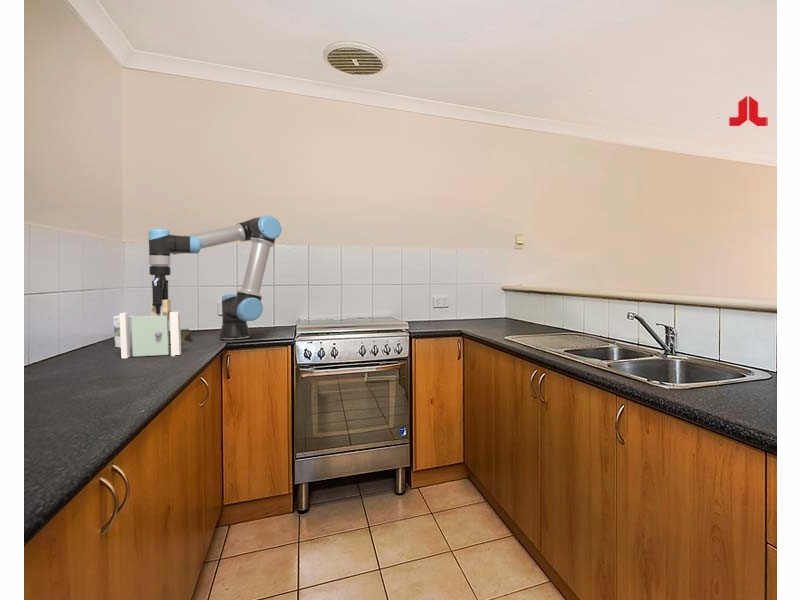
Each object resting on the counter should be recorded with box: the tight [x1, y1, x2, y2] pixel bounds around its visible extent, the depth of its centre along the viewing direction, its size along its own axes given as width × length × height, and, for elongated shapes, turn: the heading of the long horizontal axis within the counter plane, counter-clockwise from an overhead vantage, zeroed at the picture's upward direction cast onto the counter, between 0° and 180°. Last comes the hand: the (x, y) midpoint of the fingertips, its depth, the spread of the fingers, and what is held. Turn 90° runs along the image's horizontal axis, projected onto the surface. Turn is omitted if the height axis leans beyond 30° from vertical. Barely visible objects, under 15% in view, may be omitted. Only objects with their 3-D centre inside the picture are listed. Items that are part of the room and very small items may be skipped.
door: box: [129, 315, 171, 357], centre depth 153 cm, size 14×4×16 cm, turn 107°
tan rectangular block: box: [150, 299, 172, 322], centre depth 161 cm, size 6×5×9 cm
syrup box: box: [112, 314, 135, 349], centre depth 172 cm, size 6×6×14 cm
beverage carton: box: [169, 328, 193, 344], centre depth 182 cm, size 8×19×7 cm, turn 127°
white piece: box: [118, 311, 182, 359], centre depth 154 cm, size 20×3×18 cm, turn 107°
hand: (161, 320), depth 161 cm, fingers closed on tan rectangular block, 5 cm apart
